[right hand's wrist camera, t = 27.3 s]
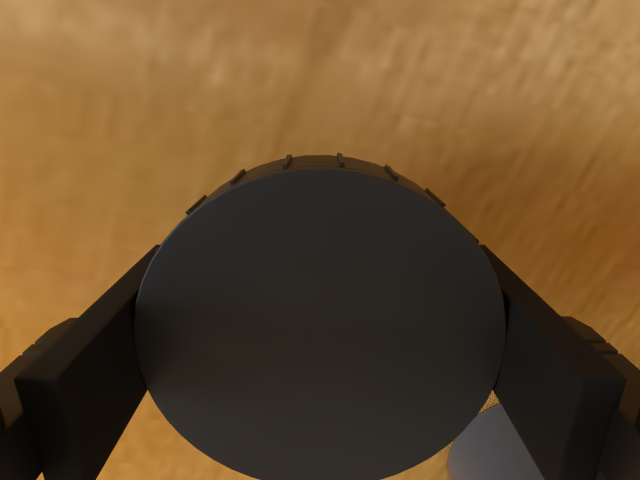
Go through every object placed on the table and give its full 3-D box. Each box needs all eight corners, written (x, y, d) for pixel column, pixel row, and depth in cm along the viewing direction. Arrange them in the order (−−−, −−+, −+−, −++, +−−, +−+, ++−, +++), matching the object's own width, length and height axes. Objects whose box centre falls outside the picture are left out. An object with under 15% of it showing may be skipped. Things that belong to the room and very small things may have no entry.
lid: (137, 394, 13) (105, 446, 11) (197, 101, 10) (168, 104, 8) (406, 461, 14) (420, 520, 12) (535, 213, 11) (582, 239, 9)
